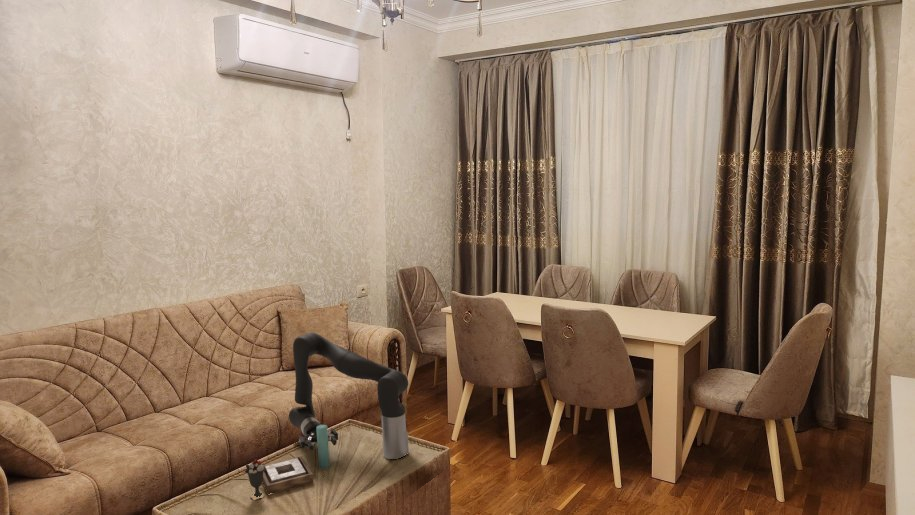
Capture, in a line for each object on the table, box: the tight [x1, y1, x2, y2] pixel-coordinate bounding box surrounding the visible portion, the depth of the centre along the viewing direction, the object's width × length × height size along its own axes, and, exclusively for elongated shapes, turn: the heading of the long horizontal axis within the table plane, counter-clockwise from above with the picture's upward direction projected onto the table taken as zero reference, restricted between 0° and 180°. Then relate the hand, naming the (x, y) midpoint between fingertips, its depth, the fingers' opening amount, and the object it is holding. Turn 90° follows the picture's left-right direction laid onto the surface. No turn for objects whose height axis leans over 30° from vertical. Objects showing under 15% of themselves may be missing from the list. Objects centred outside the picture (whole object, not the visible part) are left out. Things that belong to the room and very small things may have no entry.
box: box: [262, 455, 314, 495], centre depth 230 cm, size 16×16×4 cm
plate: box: [265, 457, 306, 484], centre depth 230 cm, size 12×12×3 cm
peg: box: [316, 424, 330, 470], centre depth 237 cm, size 4×4×16 cm
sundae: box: [244, 454, 266, 497], centre depth 218 cm, size 7×7×15 cm
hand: (323, 445), depth 236 cm, fingers open, 8 cm apart
